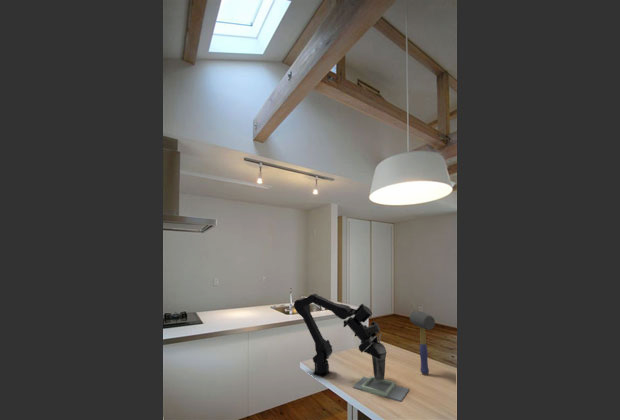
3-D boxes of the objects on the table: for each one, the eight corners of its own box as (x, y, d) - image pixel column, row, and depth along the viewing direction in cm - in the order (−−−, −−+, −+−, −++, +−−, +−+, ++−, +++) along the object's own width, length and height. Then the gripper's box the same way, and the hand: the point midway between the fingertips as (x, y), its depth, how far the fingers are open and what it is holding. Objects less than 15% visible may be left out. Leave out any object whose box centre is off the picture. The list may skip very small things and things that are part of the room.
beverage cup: (368, 376, 136) (367, 331, 138) (381, 373, 138) (379, 330, 141) (377, 382, 129) (376, 336, 132) (390, 380, 132) (389, 334, 134)
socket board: (352, 387, 131) (352, 383, 131) (363, 377, 141) (363, 374, 141) (401, 402, 119) (400, 397, 119) (409, 390, 129) (408, 385, 129)
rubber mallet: (439, 378, 140) (435, 314, 144) (426, 380, 138) (423, 315, 142) (423, 368, 152) (420, 309, 156) (410, 370, 150) (408, 310, 154)
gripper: (365, 321, 130) (391, 351, 124) (373, 313, 147) (396, 338, 142) (348, 337, 132) (373, 367, 127) (358, 327, 149) (380, 353, 144)
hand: (381, 355), depth 135 cm, fingers closed on beverage cup, 7 cm apart
